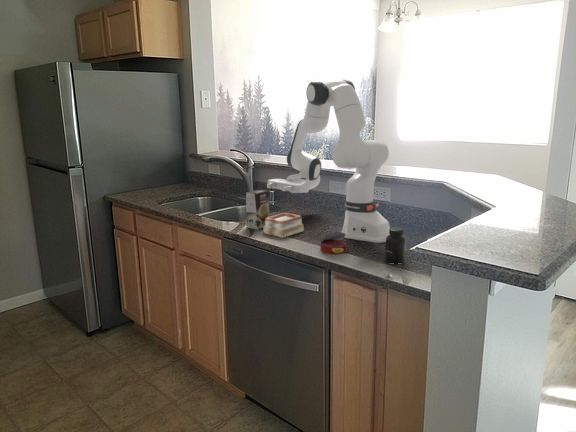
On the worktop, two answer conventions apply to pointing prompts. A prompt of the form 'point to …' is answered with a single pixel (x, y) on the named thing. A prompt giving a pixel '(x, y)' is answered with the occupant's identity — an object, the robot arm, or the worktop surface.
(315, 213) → the worktop surface
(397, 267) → the worktop surface
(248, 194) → the coffee box
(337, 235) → the canned food
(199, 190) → the worktop surface
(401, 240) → the supplement bottle
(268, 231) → the tower base
